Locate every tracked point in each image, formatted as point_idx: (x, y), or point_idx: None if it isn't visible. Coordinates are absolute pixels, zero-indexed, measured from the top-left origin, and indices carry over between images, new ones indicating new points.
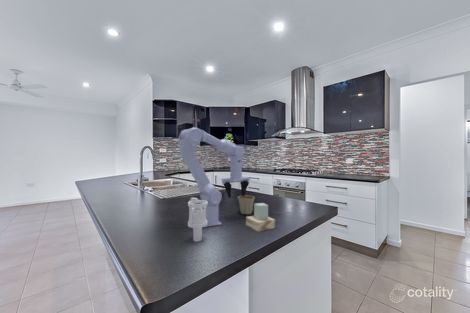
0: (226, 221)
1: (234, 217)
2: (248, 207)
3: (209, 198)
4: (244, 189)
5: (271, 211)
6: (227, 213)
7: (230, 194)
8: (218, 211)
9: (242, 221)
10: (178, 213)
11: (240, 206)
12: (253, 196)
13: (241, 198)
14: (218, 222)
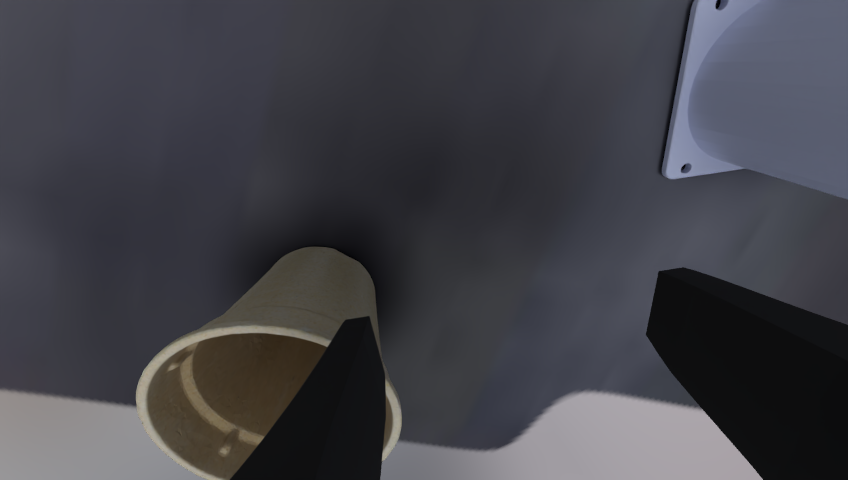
0: (593, 97)
1: (471, 195)
2: (298, 274)
3: None
4: (315, 447)
5: (59, 281)
6: (488, 310)
7: (735, 300)
8: (819, 59)
9: (441, 46)
10: None
11: (377, 327)
12: (158, 439)
13: None
14: (711, 42)
